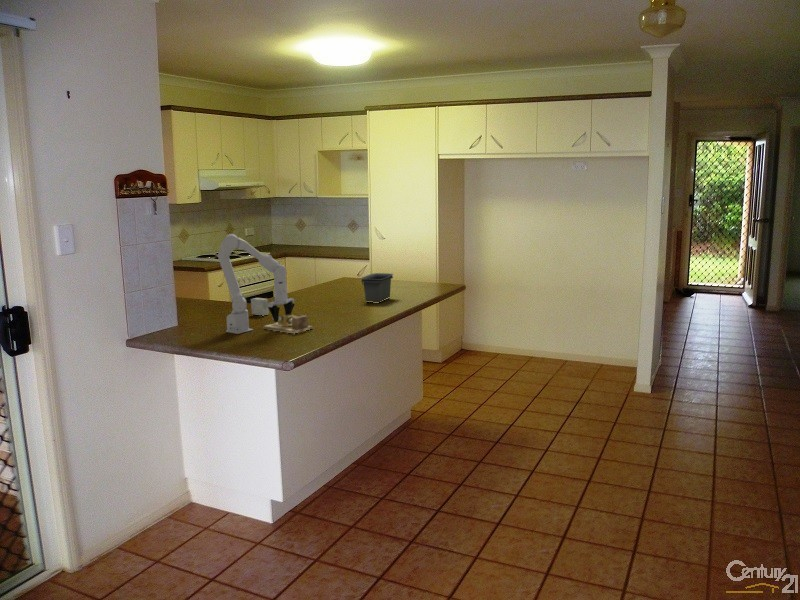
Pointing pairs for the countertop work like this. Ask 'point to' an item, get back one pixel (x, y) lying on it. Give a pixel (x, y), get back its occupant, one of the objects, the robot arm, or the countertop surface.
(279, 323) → the wing nut
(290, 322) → the threaded rod
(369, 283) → the storage bin
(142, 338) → the countertop surface
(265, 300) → the medicine box
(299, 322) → the beige blocky piece
